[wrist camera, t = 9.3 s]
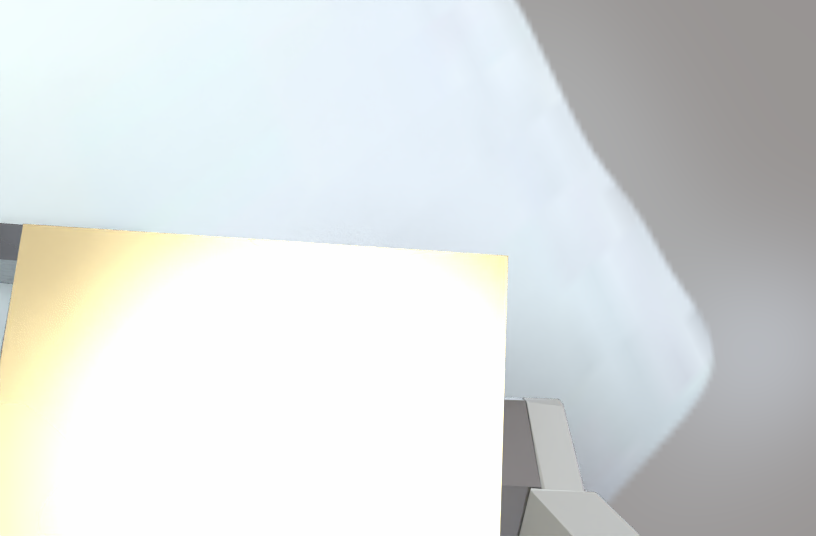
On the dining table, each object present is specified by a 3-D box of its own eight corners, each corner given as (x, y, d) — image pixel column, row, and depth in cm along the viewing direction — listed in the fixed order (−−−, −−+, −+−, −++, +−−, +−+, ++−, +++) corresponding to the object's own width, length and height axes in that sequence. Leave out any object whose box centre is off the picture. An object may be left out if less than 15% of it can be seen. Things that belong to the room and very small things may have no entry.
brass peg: (414, 555, 15) (491, 790, 5) (215, 545, 15) (-68, 767, 5) (424, 358, 16) (508, 254, 6) (236, 347, 16) (22, 223, 6)
